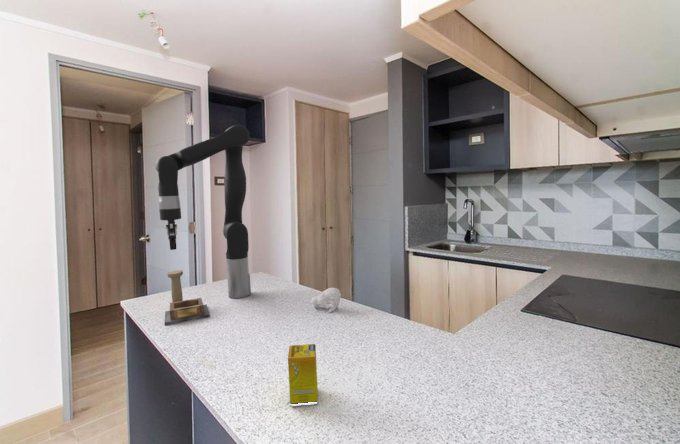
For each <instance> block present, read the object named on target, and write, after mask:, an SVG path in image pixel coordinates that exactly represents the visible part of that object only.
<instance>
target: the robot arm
mask: <svg viewBox="0 0 680 444" xmlns="http://www.w3.org/2000/svg"><path fill="white" fill-rule="evenodd" d="M250 135H251V134H250V131H249V130H248V129H247V127H245V126H244V125H241V124H234V125H231V126H229V127H228V128H227V129H226V130H224V132H222V133H220V134H217V135H216V136H214V137H212V138H209V139H205V140H203V141H200V142H197V143H194V144H191V145H188V146H186V147H184V148H182V149H180V150H179V151H176V152H174V153H172V154H168V155H163V156H161V157H160V158H157V160H156V162H155V164H154V167H155V169H156V170H155V171H157V172H158V186H157V190H158V209H159V219H160V221H166V222H167V224H165V229H166V234H167V236H168V241H169V250H171V251H173V250H177V235H178V224H177V223H176V220H181V219H182V210H181V209H182V208H181V200H180V196H179V193H180V192H179V184H178V181H179V180H178V179H179V178H178V176H179V171H180V170H182V169H184V168H187V167H190V166H193V165H195V164H198V163H199V162H202V161H204V160H206V159H209V158H210V157H212V156H215V155H216V154H218V153H221V152H223V151H224V152H225V153H224V154H225V159H224V160H225V163H224V186H223V187H224V190H223V191H224V207H225V208H224V209H225V210H224V211H225V212H224V221H223V229H222V230H223V231H222V232H223V233H222V234H223V236H224V238H225V239H226V253H225V260H226V275H227V277H226V278H227V289H228V290H227V292H228V297H229V298H232V299H239V298H240V299H241V298H244V297H245V298H246V297H248V296H251V295H252V289H251V288H252V287H251V286H252V285H251V275H250V274H251V273H249V257H248V256H249V255H248V254H249V248H250V247H249V232H248V228H247V226H246V225H245V224H243V208H244V204H245V199H246V194H247V176H246V175H247V174H246V171H245V168H244V164H243V148H244V146H245V145H246V144H248V142H249V141H250Z"/></svg>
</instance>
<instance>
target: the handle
mask: <svg viewBox="0 0 680 444" xmlns="http://www.w3.org/2000/svg"><path fill="white" fill-rule="evenodd" d="M183 274H184V270H183V269H182V270H181V269H179V270H178V269H176V270H172V271H169V272H168V273H167V277H168V278H170V280H171V282H170V283H171V301H172V302H178V301H184V300H183V289H182V283H181V282H182V281H181V277H182V276H183ZM172 302H171V303H172Z"/></svg>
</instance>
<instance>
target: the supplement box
mask: <svg viewBox="0 0 680 444" xmlns="http://www.w3.org/2000/svg"><path fill="white" fill-rule="evenodd" d="M316 350H317V348H316V343H309V344H308V343H307V344H294V345H293V344H292V345H289V349H288V353H287V364H288V365H287V367H288V381H289V382H288V384H289V386H288V387H289V389H288V390H289V402H290V404H298V403H308V402H317V401H318V402H319V395H318V394H319V393H318V392H319V391H318V390H319V389H318V372H317V370H318V368H317V351H316Z"/></svg>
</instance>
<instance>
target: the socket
mask: <svg viewBox="0 0 680 444" xmlns="http://www.w3.org/2000/svg"><path fill="white" fill-rule="evenodd" d="M209 310H210V309H209V307H208V305H207V304H204V303H203V299H202V297H199V298H198V297H196V298H192V299H186V300H183V301H178V302H169V310H166V311H165V313H164V326H170V325H174V324H179V323H185V322H190V321H195V320H201V319H206V318H210V317H211V315H210V311H209Z"/></svg>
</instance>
